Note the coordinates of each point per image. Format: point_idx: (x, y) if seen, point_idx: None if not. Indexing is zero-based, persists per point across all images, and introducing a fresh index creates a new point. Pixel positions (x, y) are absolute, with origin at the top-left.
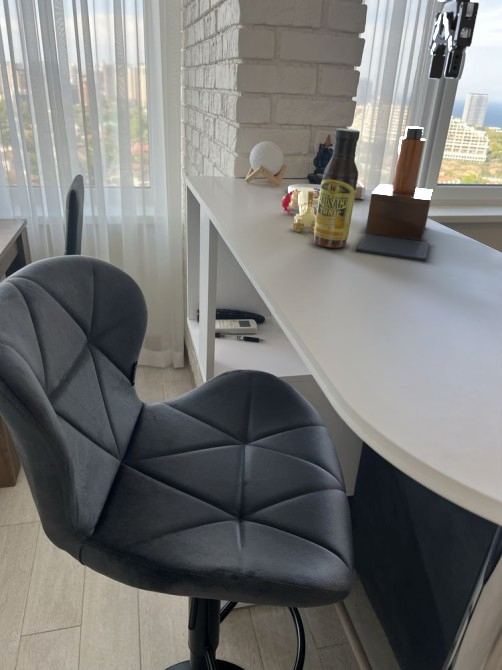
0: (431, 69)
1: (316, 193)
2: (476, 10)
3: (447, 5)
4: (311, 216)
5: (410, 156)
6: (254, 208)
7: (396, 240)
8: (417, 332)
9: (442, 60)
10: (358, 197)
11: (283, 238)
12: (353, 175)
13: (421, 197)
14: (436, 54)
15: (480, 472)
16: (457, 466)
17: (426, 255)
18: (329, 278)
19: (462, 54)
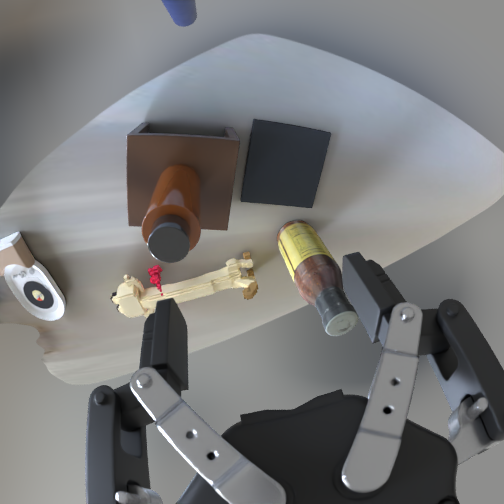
0: (186, 345)
1: (55, 289)
2: None
3: None
4: (240, 273)
5: (200, 212)
6: None
7: (258, 163)
8: (460, 168)
9: (170, 352)
10: (22, 239)
11: (283, 277)
12: (337, 270)
13: (224, 154)
14: (179, 386)
15: None
16: None
17: (317, 130)
18: (390, 222)
19: (392, 300)
